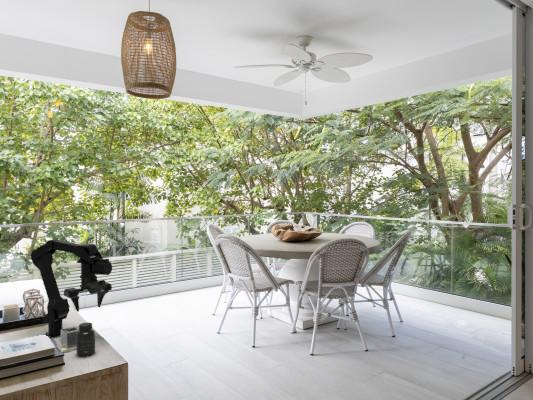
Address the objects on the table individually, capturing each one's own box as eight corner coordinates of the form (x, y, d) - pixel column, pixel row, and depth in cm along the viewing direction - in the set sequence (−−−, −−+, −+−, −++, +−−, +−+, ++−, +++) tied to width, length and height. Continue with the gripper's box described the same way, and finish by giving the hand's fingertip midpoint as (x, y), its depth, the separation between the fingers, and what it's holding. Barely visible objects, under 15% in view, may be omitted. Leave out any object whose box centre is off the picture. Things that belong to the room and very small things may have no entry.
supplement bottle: (77, 352, 169) (76, 322, 169) (95, 349, 172) (95, 320, 171) (75, 358, 163) (75, 328, 163) (95, 356, 165) (94, 325, 165)
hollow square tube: (60, 344, 174) (60, 329, 174) (76, 340, 179) (76, 325, 178) (67, 349, 170) (66, 333, 169) (83, 344, 174) (82, 329, 174)
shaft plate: (56, 348, 173) (55, 336, 173) (80, 341, 180) (80, 330, 180) (62, 353, 168) (62, 341, 168) (87, 346, 175) (87, 334, 175)
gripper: (73, 279, 170) (74, 318, 171) (117, 272, 184) (118, 308, 185) (63, 275, 178) (63, 312, 179) (105, 269, 192) (106, 303, 192)
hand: (88, 309), depth 183 cm, fingers open, 9 cm apart
